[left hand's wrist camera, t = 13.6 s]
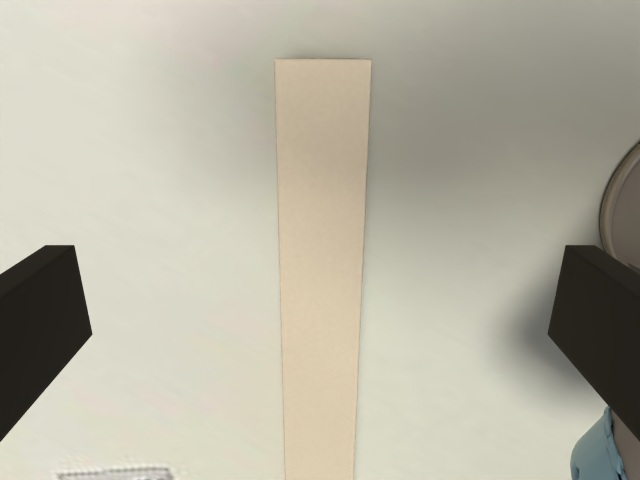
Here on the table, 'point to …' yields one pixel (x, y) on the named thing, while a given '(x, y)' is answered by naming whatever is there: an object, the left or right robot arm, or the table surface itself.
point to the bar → (321, 256)
